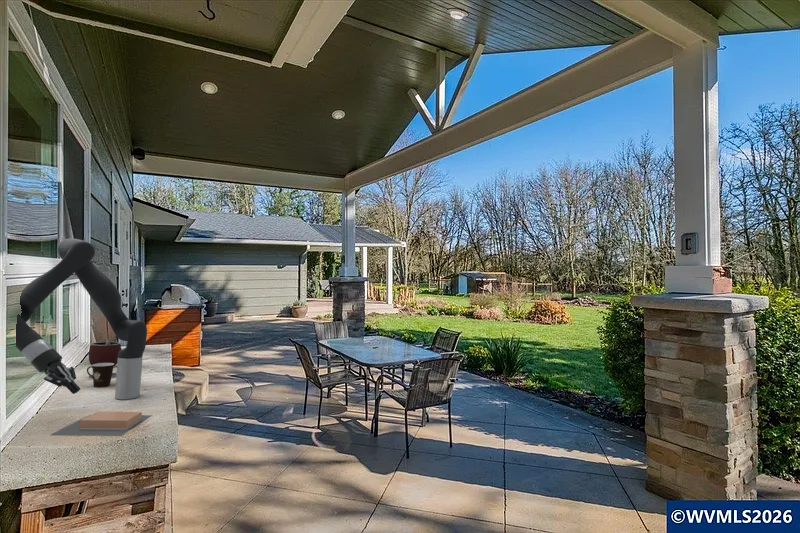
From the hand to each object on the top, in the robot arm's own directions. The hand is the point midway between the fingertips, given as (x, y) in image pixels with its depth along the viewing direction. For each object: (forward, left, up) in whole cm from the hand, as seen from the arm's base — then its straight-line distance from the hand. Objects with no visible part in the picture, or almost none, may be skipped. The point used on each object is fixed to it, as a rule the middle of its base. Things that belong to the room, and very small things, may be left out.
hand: (77, 391), depth 151 cm
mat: (0, +10, -12) cm, 15 cm away
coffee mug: (-58, -23, -12) cm, 64 cm away
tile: (0, +4, -10) cm, 11 cm away
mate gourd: (-76, -31, -12) cm, 83 cm away
